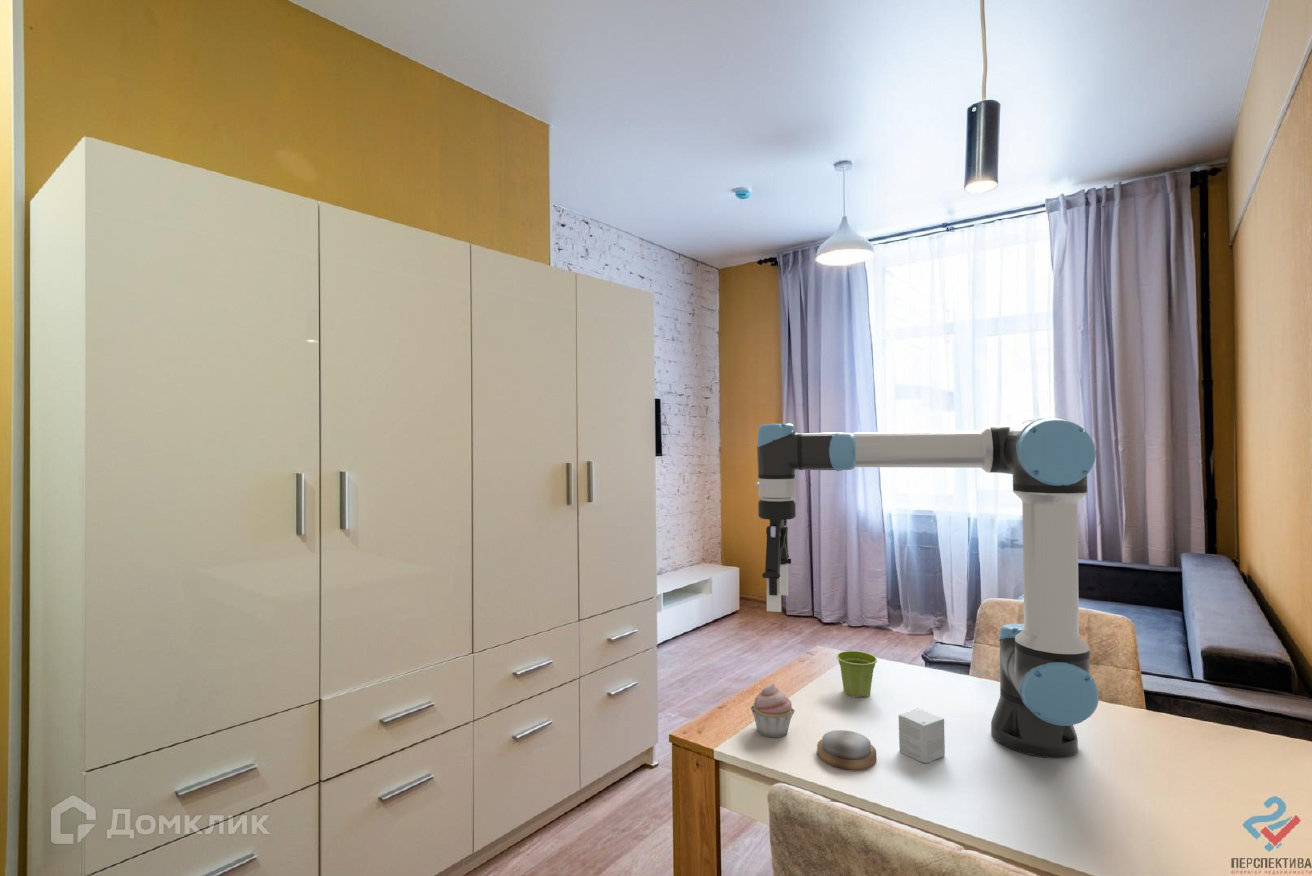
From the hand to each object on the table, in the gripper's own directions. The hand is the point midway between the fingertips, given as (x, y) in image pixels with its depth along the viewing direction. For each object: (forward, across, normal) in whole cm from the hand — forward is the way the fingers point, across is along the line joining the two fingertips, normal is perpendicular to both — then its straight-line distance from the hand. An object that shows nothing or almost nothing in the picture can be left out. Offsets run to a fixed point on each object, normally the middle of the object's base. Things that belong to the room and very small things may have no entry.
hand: (778, 602), depth 133 cm
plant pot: (+28, -29, +15) cm, 43 cm away
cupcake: (+28, -3, -2) cm, 28 cm away
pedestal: (+28, +4, +13) cm, 31 cm away
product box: (+28, -1, +27) cm, 39 cm away
